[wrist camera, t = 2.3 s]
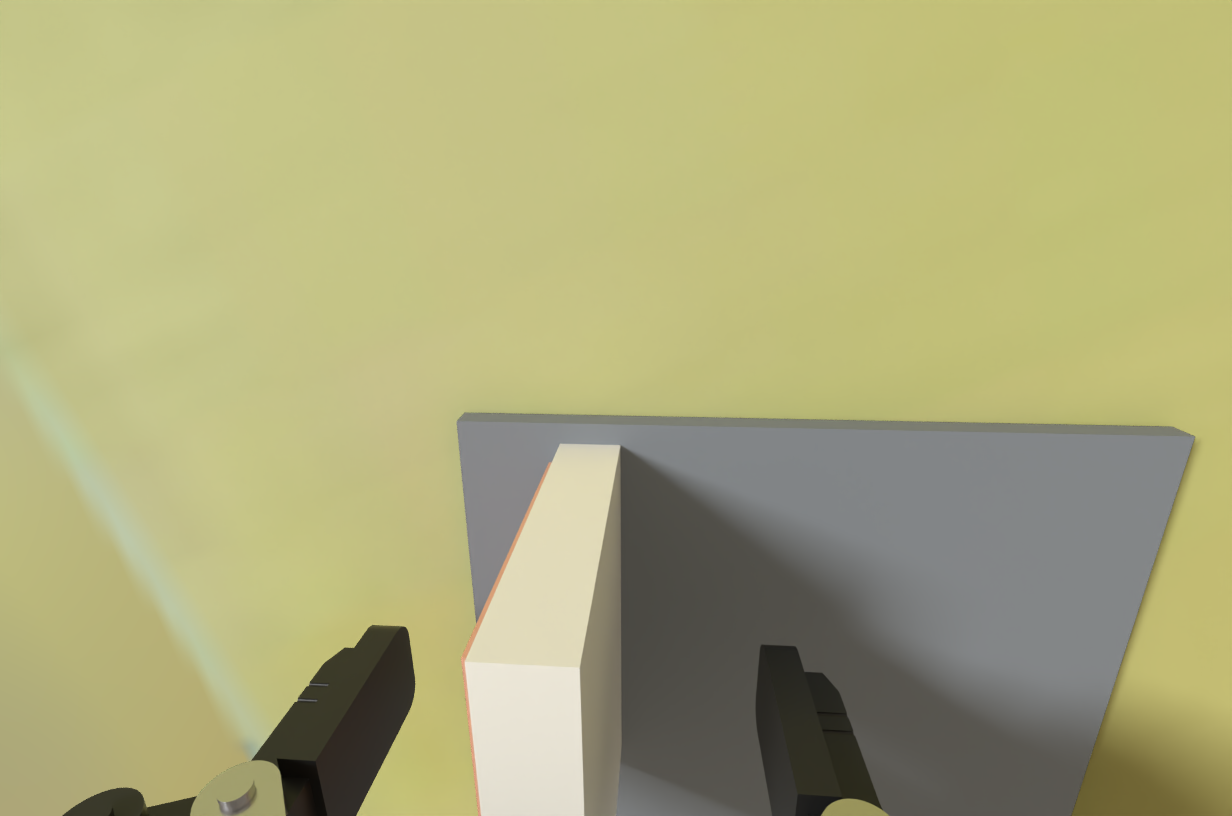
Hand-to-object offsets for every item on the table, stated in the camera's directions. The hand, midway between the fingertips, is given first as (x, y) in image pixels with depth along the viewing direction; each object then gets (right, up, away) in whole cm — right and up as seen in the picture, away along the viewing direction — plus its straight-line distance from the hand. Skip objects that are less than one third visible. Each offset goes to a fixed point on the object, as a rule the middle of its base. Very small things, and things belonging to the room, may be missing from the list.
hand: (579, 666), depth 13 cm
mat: (+5, -5, +4) cm, 8 cm away
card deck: (0, +1, +2) cm, 2 cm away
